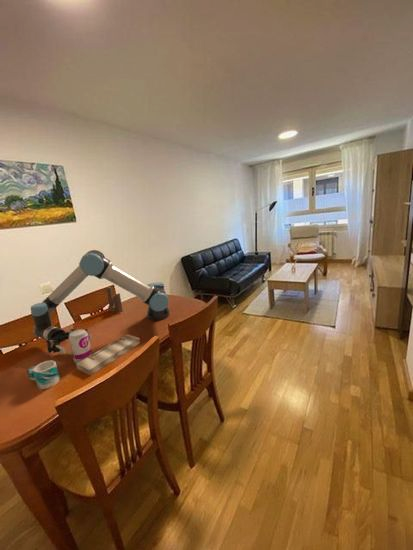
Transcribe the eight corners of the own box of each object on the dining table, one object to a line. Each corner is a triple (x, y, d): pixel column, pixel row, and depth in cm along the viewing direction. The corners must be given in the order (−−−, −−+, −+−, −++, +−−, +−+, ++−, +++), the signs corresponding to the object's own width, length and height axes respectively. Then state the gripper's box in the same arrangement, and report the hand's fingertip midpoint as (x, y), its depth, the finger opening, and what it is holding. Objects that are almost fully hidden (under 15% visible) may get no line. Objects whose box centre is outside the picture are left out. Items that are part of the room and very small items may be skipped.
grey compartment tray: (127, 338, 137) (126, 333, 136) (140, 342, 132) (139, 337, 131) (77, 369, 112) (76, 363, 112) (90, 375, 107) (89, 369, 107)
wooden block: (119, 313, 174) (115, 289, 169) (108, 311, 179) (104, 288, 174) (123, 311, 177) (119, 287, 172) (112, 309, 182) (108, 286, 177)
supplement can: (96, 356, 122) (90, 329, 118) (82, 366, 115) (75, 338, 111) (85, 353, 125) (79, 327, 121) (70, 362, 118) (63, 335, 114)
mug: (48, 390, 100) (44, 372, 98) (25, 387, 103) (19, 370, 100) (63, 376, 108) (59, 360, 106) (41, 374, 110) (36, 358, 108)
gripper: (78, 330, 140) (101, 338, 129) (30, 353, 119) (53, 365, 108) (75, 318, 138) (99, 325, 127) (26, 339, 117) (50, 350, 106)
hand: (78, 343), depth 118 cm, fingers open, 13 cm apart
